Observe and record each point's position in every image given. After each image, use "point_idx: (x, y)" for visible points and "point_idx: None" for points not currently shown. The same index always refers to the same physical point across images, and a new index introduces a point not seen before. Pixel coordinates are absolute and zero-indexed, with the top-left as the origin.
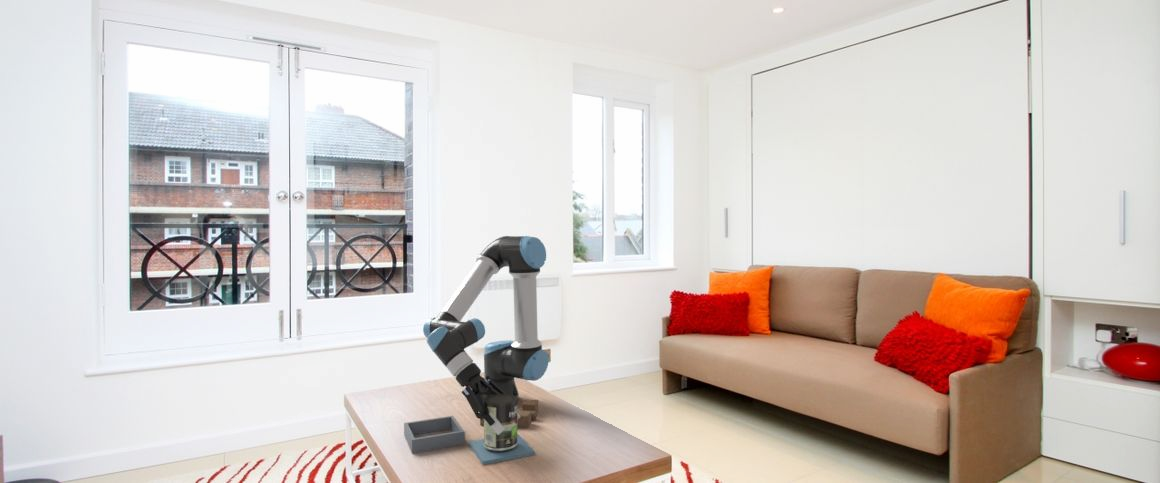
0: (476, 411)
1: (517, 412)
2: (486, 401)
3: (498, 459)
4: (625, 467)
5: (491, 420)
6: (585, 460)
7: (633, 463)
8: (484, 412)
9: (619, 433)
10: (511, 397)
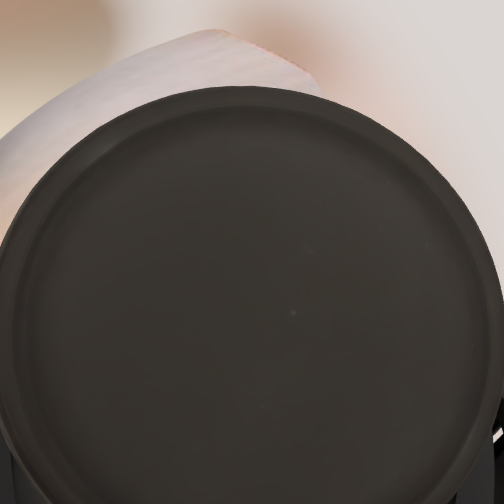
0: (502, 450)
1: None
2: (460, 475)
3: None
4: (274, 55)
5: None
6: None
7: (252, 47)
8: None
9: (97, 73)
10: (142, 166)
